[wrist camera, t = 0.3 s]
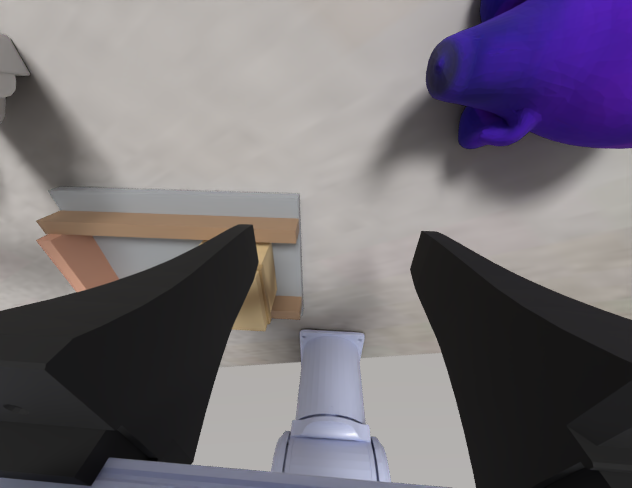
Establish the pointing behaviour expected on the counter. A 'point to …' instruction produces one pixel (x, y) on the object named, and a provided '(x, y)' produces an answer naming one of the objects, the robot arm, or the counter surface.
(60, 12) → the counter surface
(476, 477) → the robot arm
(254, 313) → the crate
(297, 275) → the bay
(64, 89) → the counter surface
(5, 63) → the headphones
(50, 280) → the counter surface
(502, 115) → the toy
